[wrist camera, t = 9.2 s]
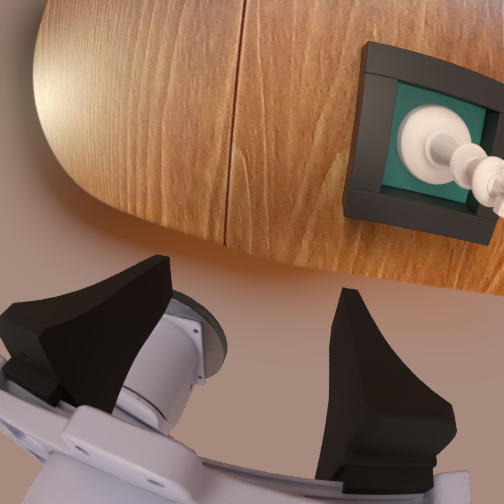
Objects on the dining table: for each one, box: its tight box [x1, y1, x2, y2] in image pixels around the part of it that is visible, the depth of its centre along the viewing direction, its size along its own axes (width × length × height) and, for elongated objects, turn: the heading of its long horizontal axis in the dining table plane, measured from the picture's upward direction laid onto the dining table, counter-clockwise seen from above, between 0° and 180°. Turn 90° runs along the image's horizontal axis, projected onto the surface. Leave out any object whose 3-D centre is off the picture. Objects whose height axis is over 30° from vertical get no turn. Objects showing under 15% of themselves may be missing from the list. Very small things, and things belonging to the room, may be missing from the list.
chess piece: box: [397, 104, 504, 218], centre depth 12 cm, size 5×5×10 cm
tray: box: [342, 41, 504, 246], centre depth 16 cm, size 10×10×3 cm
